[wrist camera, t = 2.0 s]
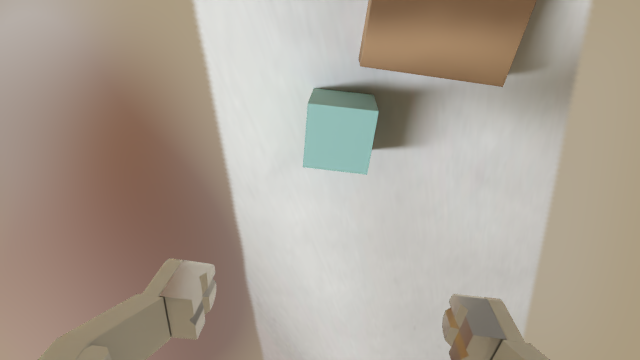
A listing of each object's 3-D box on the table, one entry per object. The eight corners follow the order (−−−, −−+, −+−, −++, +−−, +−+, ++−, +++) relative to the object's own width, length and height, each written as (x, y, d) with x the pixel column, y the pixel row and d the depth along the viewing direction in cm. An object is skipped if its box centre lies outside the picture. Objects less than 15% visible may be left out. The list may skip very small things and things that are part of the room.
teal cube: (314, 87, 27) (307, 103, 23) (373, 94, 27) (378, 111, 23) (309, 143, 29) (302, 166, 25) (364, 149, 29) (367, 174, 25)
